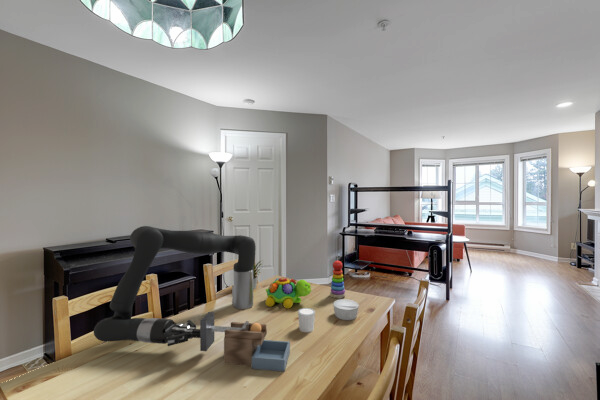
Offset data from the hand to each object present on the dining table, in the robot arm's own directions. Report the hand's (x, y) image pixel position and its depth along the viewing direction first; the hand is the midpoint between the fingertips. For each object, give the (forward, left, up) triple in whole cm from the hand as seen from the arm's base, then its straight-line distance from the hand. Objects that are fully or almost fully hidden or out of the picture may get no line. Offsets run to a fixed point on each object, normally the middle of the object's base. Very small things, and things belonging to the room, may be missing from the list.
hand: (204, 333), depth 89 cm
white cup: (+17, +35, -7) cm, 39 cm away
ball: (+15, +9, +3) cm, 18 cm away
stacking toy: (+10, +73, -7) cm, 74 cm away
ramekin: (+24, +55, -7) cm, 60 cm away
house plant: (-34, +55, -7) cm, 65 cm away
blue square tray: (+20, +11, -7) cm, 24 cm away
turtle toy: (-6, +51, -7) cm, 52 cm away
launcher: (+12, +7, -7) cm, 16 cm away
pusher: (+6, +4, -4) cm, 8 cm away
